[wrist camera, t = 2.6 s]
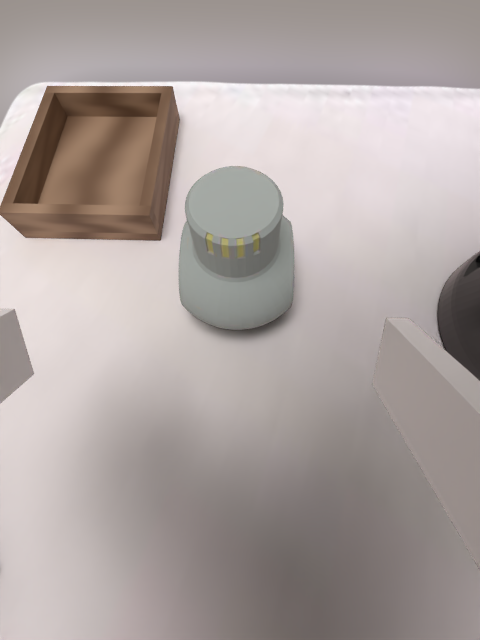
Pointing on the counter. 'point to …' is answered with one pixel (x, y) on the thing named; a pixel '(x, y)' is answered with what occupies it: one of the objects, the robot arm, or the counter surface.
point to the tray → (95, 164)
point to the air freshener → (236, 250)
